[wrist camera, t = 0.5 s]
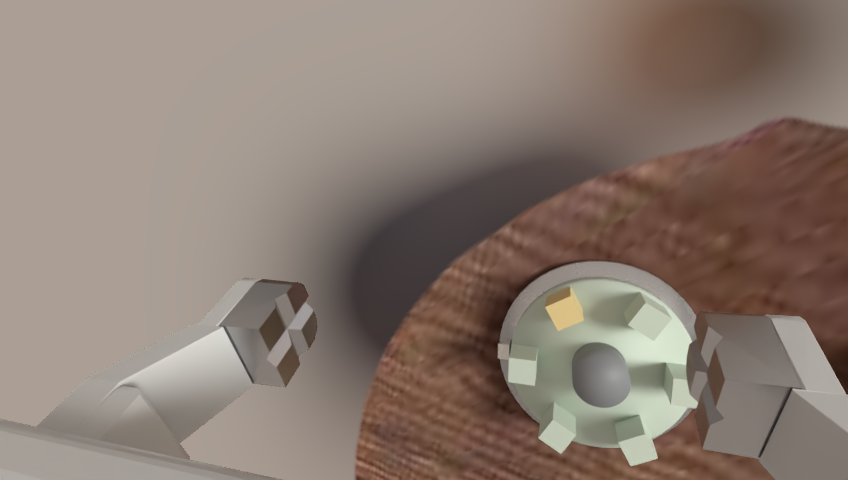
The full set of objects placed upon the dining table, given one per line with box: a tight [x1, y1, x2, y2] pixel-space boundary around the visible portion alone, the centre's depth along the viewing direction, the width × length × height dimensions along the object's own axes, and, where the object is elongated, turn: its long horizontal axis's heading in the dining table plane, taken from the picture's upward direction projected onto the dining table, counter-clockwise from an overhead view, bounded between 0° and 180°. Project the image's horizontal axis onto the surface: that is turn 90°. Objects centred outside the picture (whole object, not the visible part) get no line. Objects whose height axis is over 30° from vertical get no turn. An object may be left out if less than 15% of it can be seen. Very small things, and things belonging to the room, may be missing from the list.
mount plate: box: [498, 260, 697, 445], centre depth 57 cm, size 24×24×3 cm
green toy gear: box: [508, 277, 698, 466], centre depth 54 cm, size 21×21×6 cm
